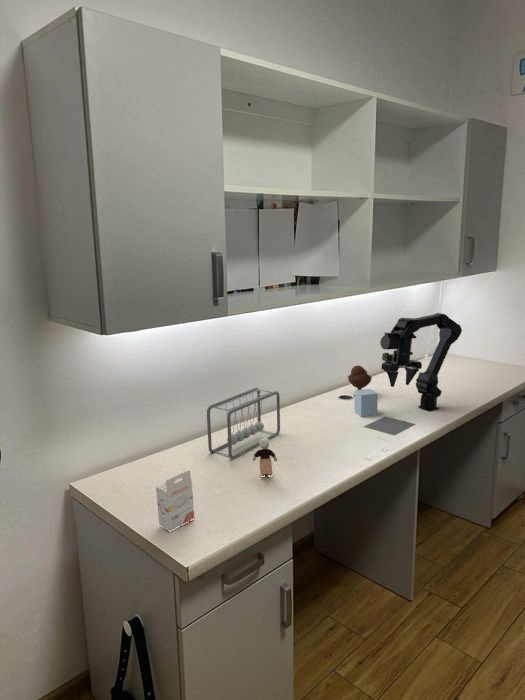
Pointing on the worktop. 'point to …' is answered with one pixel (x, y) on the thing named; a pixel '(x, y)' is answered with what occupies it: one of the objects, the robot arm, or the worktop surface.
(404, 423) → the mat
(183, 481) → the ink cartridge box
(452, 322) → the robot arm
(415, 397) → the worktop surface
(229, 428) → the newton's cradle
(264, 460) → the grandmother figurine
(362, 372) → the ice cream bowl
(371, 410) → the cover
